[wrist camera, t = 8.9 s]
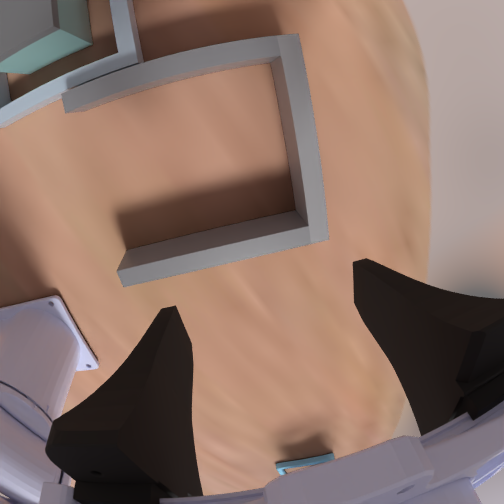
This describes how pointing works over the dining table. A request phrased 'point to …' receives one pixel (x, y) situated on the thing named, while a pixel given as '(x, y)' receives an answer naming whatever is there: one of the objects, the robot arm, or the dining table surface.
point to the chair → (303, 462)
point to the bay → (297, 145)
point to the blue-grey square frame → (129, 54)
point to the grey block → (41, 32)
